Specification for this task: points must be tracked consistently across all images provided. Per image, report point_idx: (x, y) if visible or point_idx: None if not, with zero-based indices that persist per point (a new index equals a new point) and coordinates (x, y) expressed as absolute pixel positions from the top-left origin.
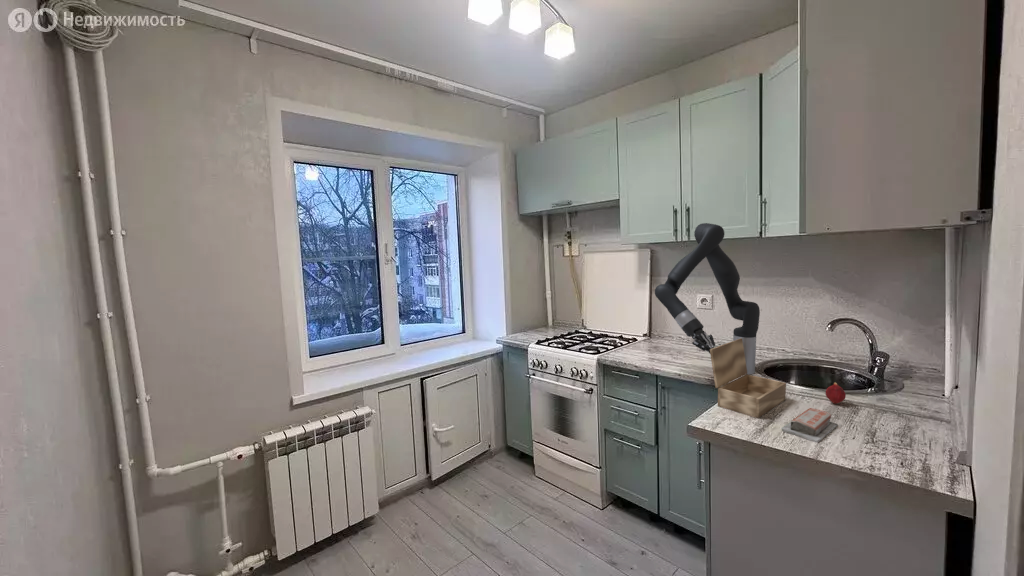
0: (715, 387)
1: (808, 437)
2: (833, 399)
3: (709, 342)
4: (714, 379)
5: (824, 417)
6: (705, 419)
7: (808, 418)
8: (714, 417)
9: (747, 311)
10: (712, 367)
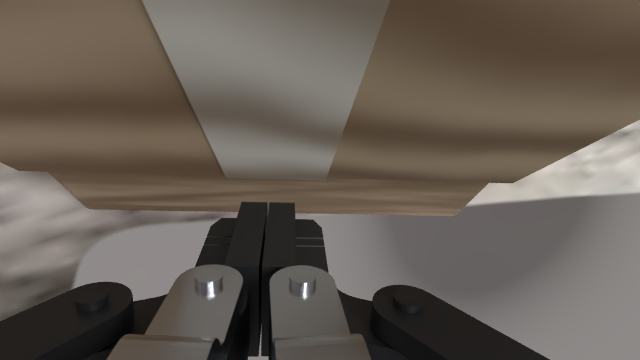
0: (513, 181)
1: None
2: None
3: (216, 350)
4: (547, 163)
5: None
6: (636, 185)
7: None
8: (581, 169)
9: None
10: (620, 128)
